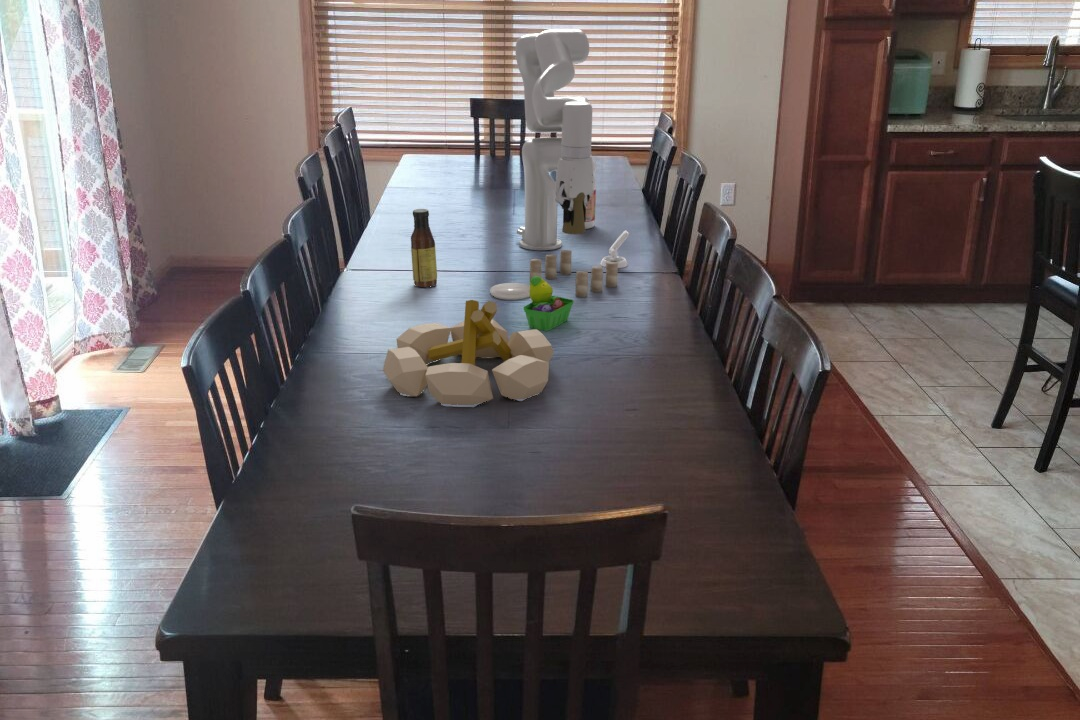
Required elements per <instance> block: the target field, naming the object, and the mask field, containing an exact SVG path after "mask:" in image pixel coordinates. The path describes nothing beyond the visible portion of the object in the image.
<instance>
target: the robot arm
mask: <svg viewBox="0 0 1080 720" xmlns="http://www.w3.org/2000/svg"><path fill="white" fill-rule="evenodd" d="M589 53H590V41H589V38H588V36H587V34H586V33H585V32H584V31H583V30H582V29H579V28H578V29H577V28H576V29H575V28H574V29H571V28H570V29H562V28H561V29H560V28H559V29H558V28H557V29H553V28H552V29H546V30H544V31H541V32H540V33H530V34H525V35H522V36H519V38H518V39H517V40H516V43H515V61H516V64H517V67H518V71H519V73H520V76H521V79H522V83H523V90H524V91H523V93H524V95H523V96H524V97H523V98H524V116H525V117H524V118H525V123H526V124H525V125H526V128H527V130H529V132H531V133H537V134H538V133H539V134H541V133H542V134H544V133H545V134H546V133H547V134H549V133H551V134H552V133H561V137H558V136H557V137H553V136H552V137H549V136H548V137H536V138H535V137H534V138H530V139H528V140H526V141H525V142H524V143H523V145H522V147H521V158H522V163H523V172H524V173H523V174H524V226H520V227H519V229H517V231H516V234H517V235H519V236H521V239H520V240H519V246H520V247H521V248H523V249H527V250H530V251H552V250H557V249H560V248H561V247H562V245H563V242H562V240H561V239H559V238H558V204H559V205H560V207H561V209H562V210H563V213H562V215H563V217H562V218H563V220H562V224H564V223H565V222H566V223H568V222H570V221H571V226H572V225H573V222H574V210H572V209H573V203H574V202H573V199H574V198H576V197H577V195H578V194H579V193H581V192H583V193H584V194H585V199H584V201H583V212H584V222H585V219H586V207H587V205H588V201H589V199H590V197H591V196H592V195H593V193H594V190H593V164H592V157H593V156H592V157H591V155H592V137H593V136H592V135H593V132H592V131H593V106H592V104H591V103H590V101H589V100H588V98H587V97H585V96H577V95H576V96H566V95H565V96H555V92H556V91H558V90H560V89H563V88H565V87H566V86H568V85H569V84H570V83H571V82H572V81H573V79H574V78H575V74H576V71H575V67H574V65H578V64H581V63H584V62H585V61H587V59H588V57H589ZM550 172H556V174H555V175H556V176H555V180H554V178H553V177H552V176H551V175H550ZM566 200H569V204H568V202H567V201H566Z"/></svg>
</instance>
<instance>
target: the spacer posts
mask: <svg viewBox="0 0 1080 720" xmlns="http://www.w3.org/2000/svg"><path fill="white" fill-rule="evenodd" d="M559 252H560V260H559V261H560V262H559V266H560V267H559V273H560V274H561V275H566V276H567V275H571V274H572V251H571V250H568V249H565V250H564V249H563V250H560V251H559ZM544 260H545V262H544V264H545V265H544V269H545V274H544V275H545V276H544V277H545V279H547V280H555V279H557V265H558V263H557V261H558V260H557V255H556V254H546V255H545V259H544ZM617 262H618V261H610V262H607V263H606V267H605V287H607V288H616V287H617V286H618V271H619V270H618V269H619V268H618V263H617ZM590 272H591V273H590V275H591V276H590V291H591V292H592V293H601V292H603V289H604V288H603V287H604V286H603V284H604V283H603V282H604V267H603V266H597V265H596V266H595V265H594V266H591V271H590ZM534 276H539V277H540V278H542V259H540V258H539V259H538V258H532V259H530V260H529V281H530V280H531V278H532V277H534ZM588 282H589V272H588V271H584V270H580V271H576V272H575V297H577V298H586V297H588V289H589V287H588V285H589V283H588Z"/></svg>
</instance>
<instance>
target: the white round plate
mask: <svg viewBox="0 0 1080 720" xmlns="http://www.w3.org/2000/svg"><path fill="white" fill-rule="evenodd" d="M489 291H490V293H491V294H490V295H491V297H493V296H494V297H493V298H496V299H500V300H505V301H506V300H507V301H508V300H509V301H510V300H511V301H512V300H513V301H518V300H525V299H529V298H530V294H529V291H530V284H526V283H518V282H504V283H497V284H495V285H493V286H491V287H490V290H489Z"/></svg>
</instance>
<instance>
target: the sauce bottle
mask: <svg viewBox="0 0 1080 720" xmlns="http://www.w3.org/2000/svg"><path fill="white" fill-rule="evenodd" d="M429 212H430V211H429V209H427V208H415V209H413V210H412V216H413V227H414V228H413V231H412V234H411V236H410V243H411V244H410V253H411V265H412V278H413V279H412V280H413V284H415V285H416V286H415V285H414V286H415V287H418V286H420V287H419V288H421V287H428V288H431V287H430V286H433V287H435V286H436V285H437V283H438V267H437V255H436V253H437V252H436V242H435V239H434V236H433V233H432V230H431V227H430V223H429V217H430V213H429ZM434 285H435V286H434Z"/></svg>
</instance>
